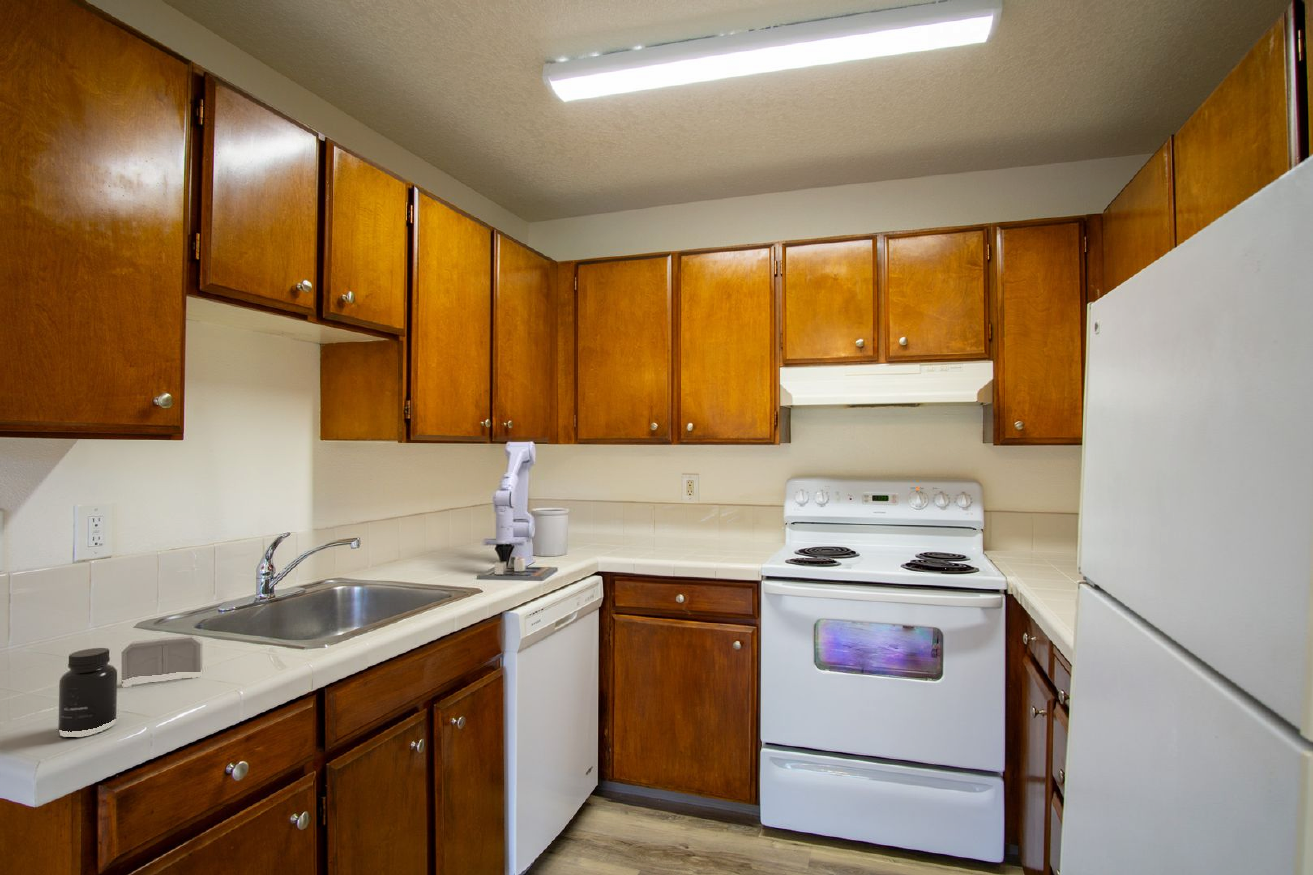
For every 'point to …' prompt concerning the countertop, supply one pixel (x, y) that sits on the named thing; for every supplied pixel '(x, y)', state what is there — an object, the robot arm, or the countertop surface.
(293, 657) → the countertop surface
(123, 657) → the light switch
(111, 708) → the supplement bottle
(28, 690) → the countertop surface
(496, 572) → the breaker panel
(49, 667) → the countertop surface
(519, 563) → the block
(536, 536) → the utensil holder
